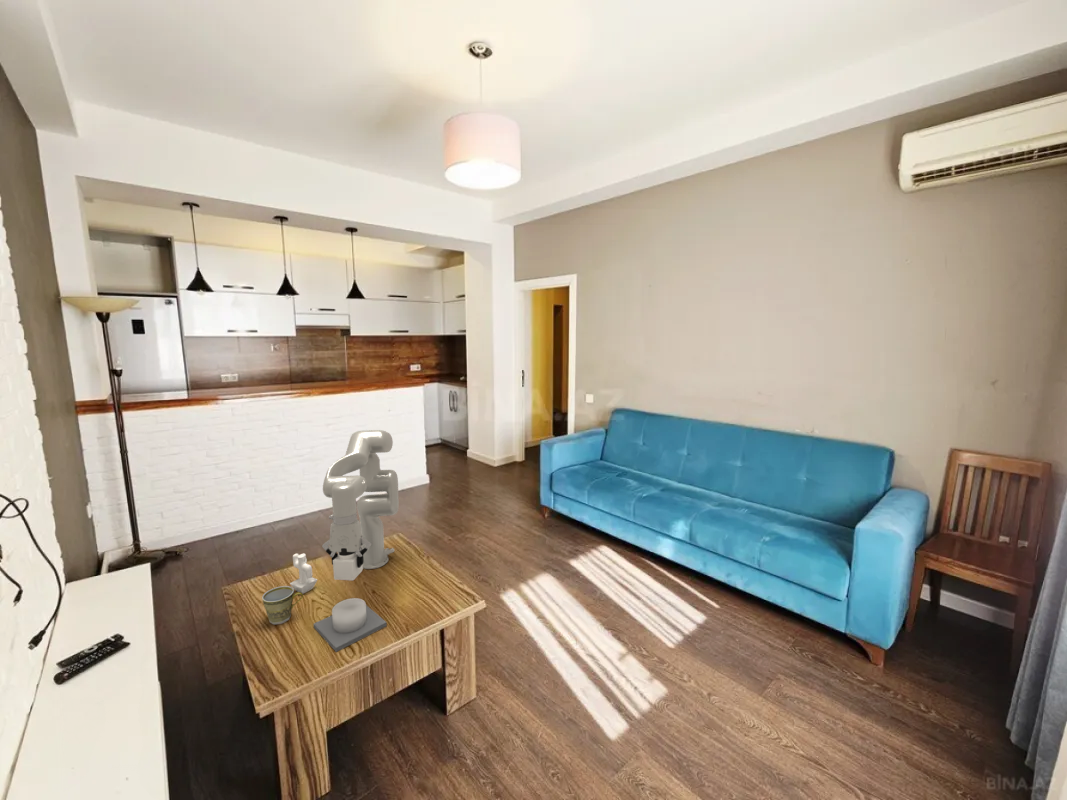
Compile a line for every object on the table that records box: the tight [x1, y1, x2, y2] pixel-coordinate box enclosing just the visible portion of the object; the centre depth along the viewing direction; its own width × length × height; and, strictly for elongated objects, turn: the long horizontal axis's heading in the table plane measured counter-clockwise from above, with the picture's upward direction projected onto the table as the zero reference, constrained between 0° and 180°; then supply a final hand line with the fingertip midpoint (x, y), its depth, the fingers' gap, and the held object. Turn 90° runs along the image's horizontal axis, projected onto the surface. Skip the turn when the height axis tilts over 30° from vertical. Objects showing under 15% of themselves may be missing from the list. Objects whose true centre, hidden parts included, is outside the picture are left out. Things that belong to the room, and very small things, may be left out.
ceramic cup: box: [261, 585, 304, 626], centre depth 164 cm, size 13×10×10 cm
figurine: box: [289, 552, 318, 595], centre depth 182 cm, size 7×9×15 cm
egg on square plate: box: [313, 597, 387, 653], centre depth 159 cm, size 18×18×8 cm
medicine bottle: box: [332, 548, 364, 581], centre depth 158 cm, size 7×7×12 cm
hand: (348, 565), depth 158 cm, fingers closed on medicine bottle, 7 cm apart
